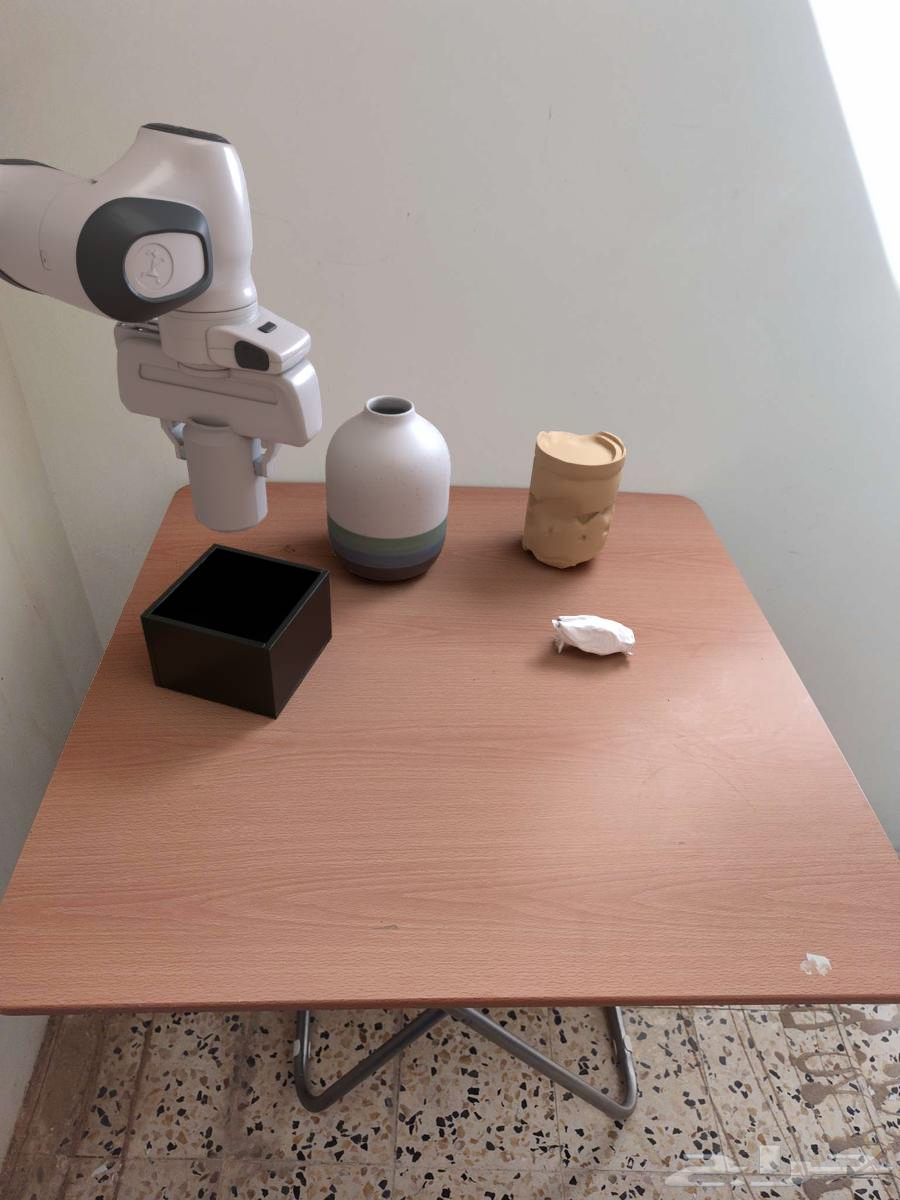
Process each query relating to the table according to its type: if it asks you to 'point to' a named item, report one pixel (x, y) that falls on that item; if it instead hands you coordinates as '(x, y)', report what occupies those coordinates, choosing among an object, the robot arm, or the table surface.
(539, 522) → the container
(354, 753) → the table surface
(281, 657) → the bin
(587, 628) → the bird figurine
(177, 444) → the robot arm
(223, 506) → the can
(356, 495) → the vase
